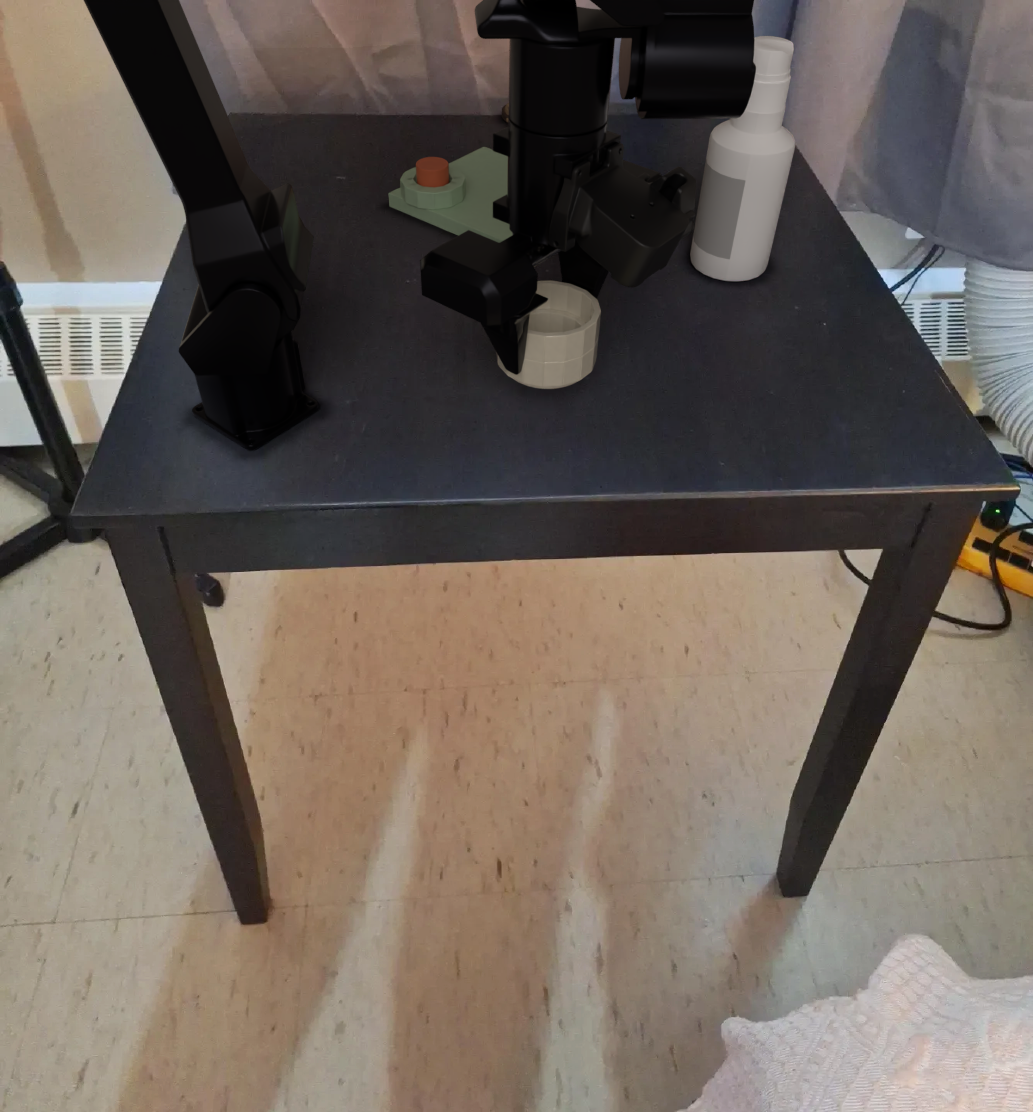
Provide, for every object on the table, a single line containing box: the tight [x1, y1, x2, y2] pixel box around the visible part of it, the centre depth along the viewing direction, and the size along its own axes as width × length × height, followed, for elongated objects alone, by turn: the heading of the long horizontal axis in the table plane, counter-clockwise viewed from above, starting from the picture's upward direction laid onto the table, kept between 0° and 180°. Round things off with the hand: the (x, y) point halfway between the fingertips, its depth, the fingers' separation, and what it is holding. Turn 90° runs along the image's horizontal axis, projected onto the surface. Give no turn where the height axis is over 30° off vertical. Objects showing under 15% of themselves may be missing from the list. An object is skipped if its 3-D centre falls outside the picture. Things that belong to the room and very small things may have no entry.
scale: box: [388, 146, 512, 243], centre depth 89 cm, size 14×14×3 cm
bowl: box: [495, 280, 602, 390], centre depth 64 cm, size 7×7×4 cm
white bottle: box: [689, 35, 796, 282], centre depth 77 cm, size 7×7×18 cm
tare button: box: [415, 156, 449, 187], centre depth 87 cm, size 3×3×2 cm
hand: (545, 348), depth 65 cm, fingers closed on bowl, 7 cm apart
